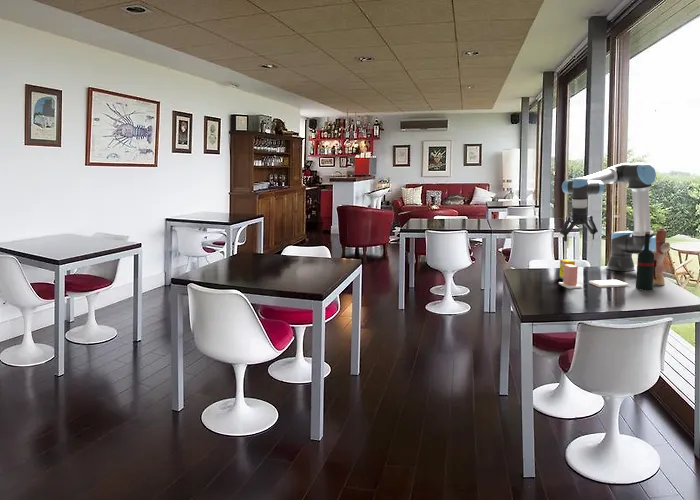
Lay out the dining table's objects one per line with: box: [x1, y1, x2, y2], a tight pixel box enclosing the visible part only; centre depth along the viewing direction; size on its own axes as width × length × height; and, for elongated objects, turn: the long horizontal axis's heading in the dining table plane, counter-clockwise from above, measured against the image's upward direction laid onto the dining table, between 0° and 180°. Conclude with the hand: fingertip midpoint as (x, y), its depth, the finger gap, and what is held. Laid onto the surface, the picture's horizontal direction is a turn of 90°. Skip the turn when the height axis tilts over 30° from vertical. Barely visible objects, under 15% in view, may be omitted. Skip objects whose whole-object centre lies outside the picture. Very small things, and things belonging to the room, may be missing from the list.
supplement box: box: [559, 259, 576, 281], centre depth 324 cm, size 6×6×11 cm
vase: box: [652, 228, 671, 287], centre depth 306 cm, size 10×7×30 cm
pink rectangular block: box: [558, 264, 582, 290], centre depth 307 cm, size 7×11×11 cm, turn 7°
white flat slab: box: [588, 279, 630, 288], centre depth 310 cm, size 16×11×1 cm
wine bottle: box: [635, 231, 657, 292], centre depth 297 cm, size 8×10×30 cm
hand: (578, 246), depth 311 cm, fingers open, 13 cm apart
